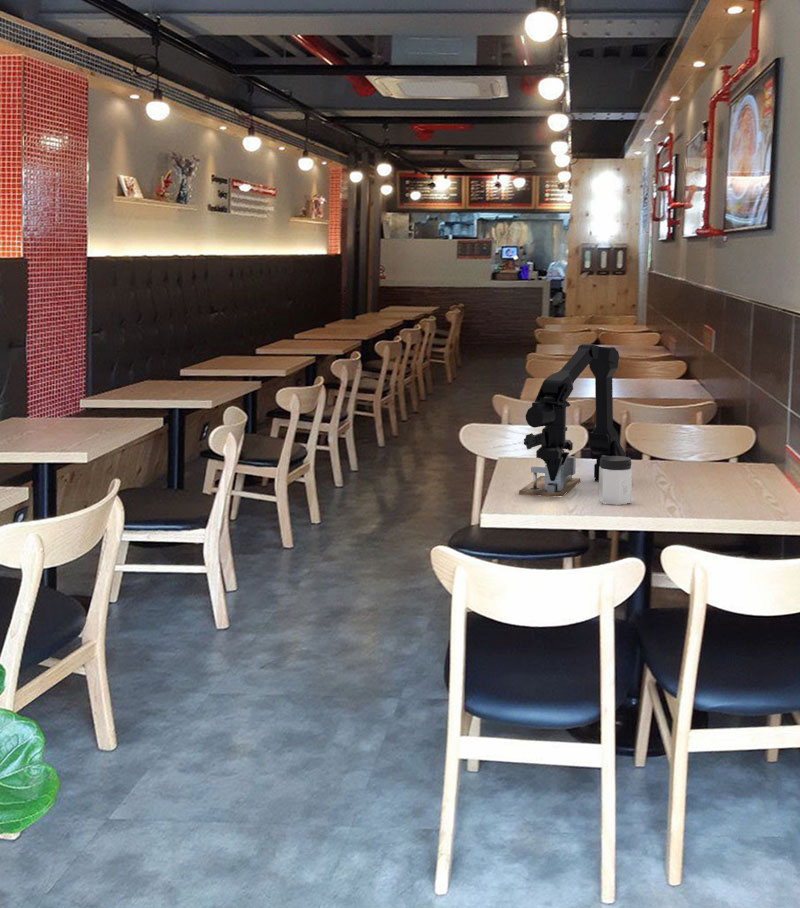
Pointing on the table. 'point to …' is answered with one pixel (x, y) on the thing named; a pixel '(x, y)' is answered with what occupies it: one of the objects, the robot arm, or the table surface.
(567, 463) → the beam
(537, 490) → the hole plate
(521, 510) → the table surface
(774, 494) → the table surface
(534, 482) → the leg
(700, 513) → the table surface
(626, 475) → the jar
